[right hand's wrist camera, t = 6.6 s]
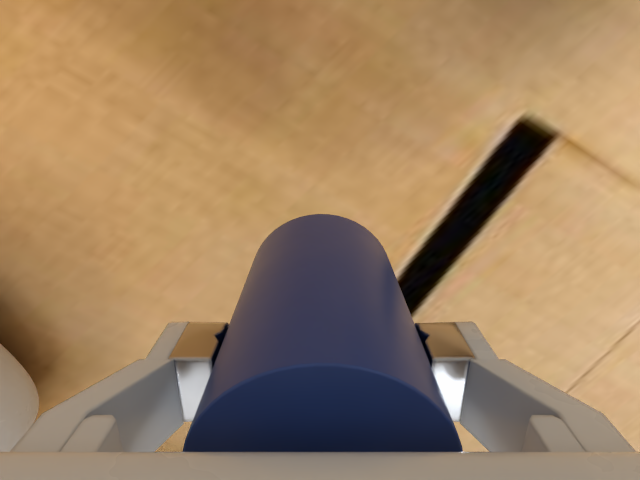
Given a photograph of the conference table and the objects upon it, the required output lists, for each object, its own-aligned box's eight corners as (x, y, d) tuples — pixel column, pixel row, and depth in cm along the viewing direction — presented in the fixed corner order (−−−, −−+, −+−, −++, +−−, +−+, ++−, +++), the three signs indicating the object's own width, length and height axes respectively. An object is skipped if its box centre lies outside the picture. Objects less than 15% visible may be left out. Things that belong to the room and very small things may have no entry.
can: (324, 360, 15) (327, 599, 8) (223, 282, 14) (124, 484, 7) (419, 276, 14) (523, 475, 7) (317, 183, 13) (315, 306, 6)
